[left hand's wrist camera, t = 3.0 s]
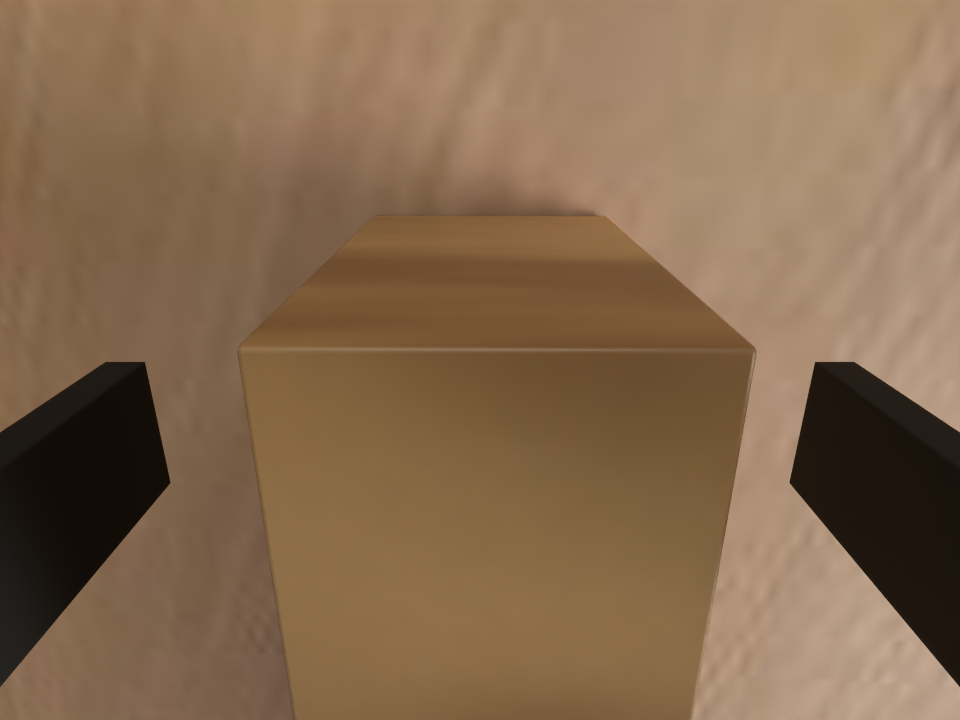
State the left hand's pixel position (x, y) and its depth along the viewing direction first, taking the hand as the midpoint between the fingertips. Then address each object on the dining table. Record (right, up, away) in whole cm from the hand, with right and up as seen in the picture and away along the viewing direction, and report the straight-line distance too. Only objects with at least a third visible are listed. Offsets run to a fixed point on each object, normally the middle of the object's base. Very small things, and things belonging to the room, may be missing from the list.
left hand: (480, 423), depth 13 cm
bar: (0, -6, +5) cm, 8 cm away
